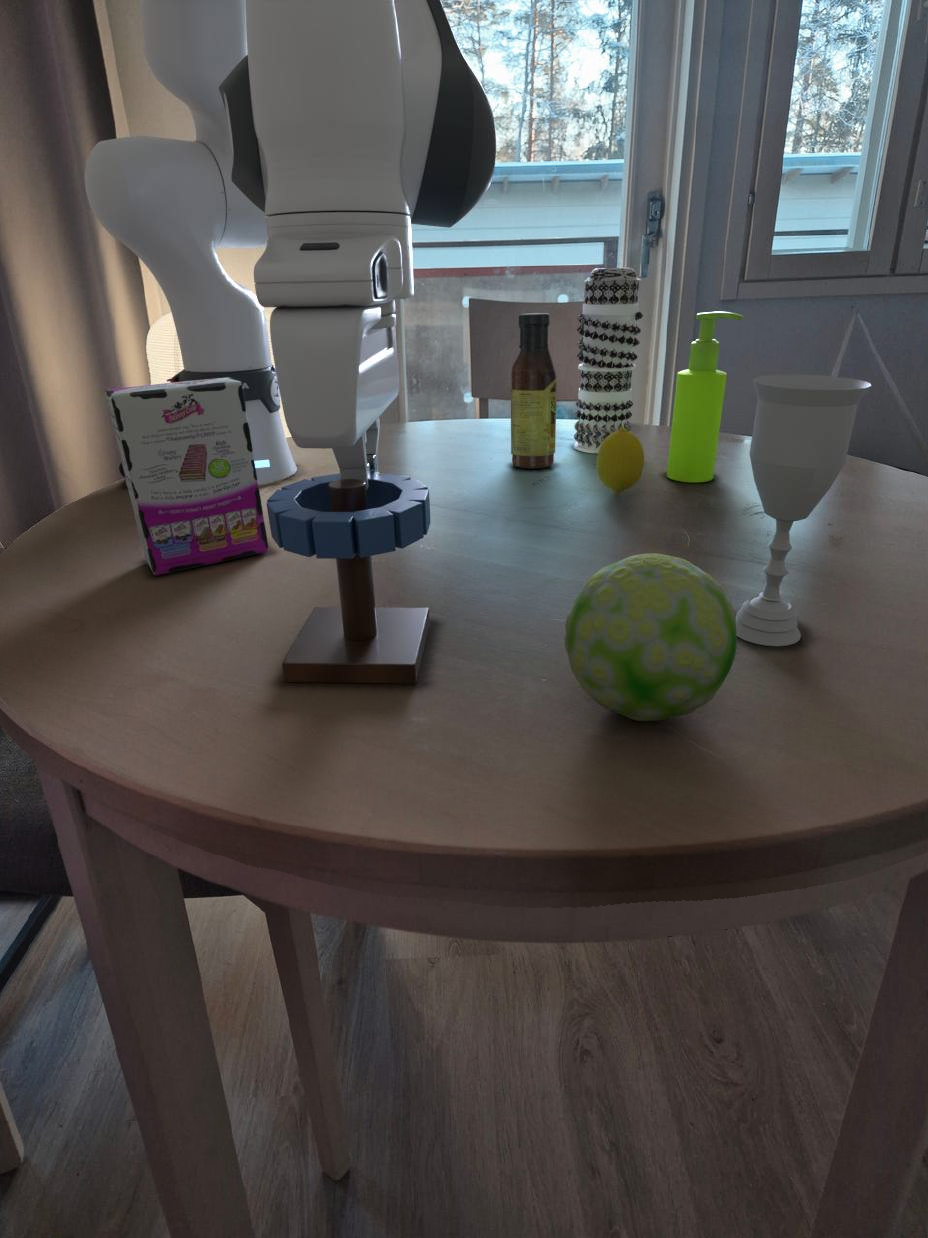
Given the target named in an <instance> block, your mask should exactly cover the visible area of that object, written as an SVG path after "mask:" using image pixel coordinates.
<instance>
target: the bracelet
mask: <svg viewBox="0 0 928 1238" xmlns="http://www.w3.org/2000/svg"><path fill="white" fill-rule="evenodd" d="M337 480H341V477H340V472H338V473H333V474H326V475H320V476H313V477H311V478H310V479H306V478H304V479H301V480H297V481H296V482H293V483H290V484H287V485H284V486H281V489H276V490H275V491H274V492H273V493H272V494H271V495H270V496H269V498H268V499H267V500H266V509H267V516H268V522H269V529H270V535H271V538H272V539H273V540H274V542H275V543H276V544H277V547H279V549H283V551H284V552H289V553H292V554H296V555H300V556H303V557H307V558H311V557H314V556H315V557H316V559H319V560H321V559H325V560H326V559H327V560H328V559H332V560H334V559H335V560H336V559H353V558H354V556H355V554H356V553H357V554H358V555H359V556H360V557H361V558H363V557H368V556H371V557H372V556H378V555H382V554H388V553H392V552H396V550H397V548H398V549H405V548H408V547H409V546H410V545H412V544H414V543H416V542H419V541H420V540H422V539H423V538H424V536H426V535H428V532H429V529H430V525H431V523H432V522H431V504H430V503H431V502H430V490H429V488H428V486H426V485H425V484H424V483H422V482H421V481H419V480H417V478H411V477H410V476H405V475H400V474H396V473H395V474H393V473H388V472H384V473H381V474H380V472H379V471H378V472H370V481H371V483H370V485H369V487H368V489H367V491H366V497H367V510H361V511H355V512H331V505H330V496H329V483H331V482H333V481H337Z"/></svg>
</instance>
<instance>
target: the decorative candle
mask: <svg viewBox="0 0 928 1238" xmlns="http://www.w3.org/2000/svg"><path fill="white" fill-rule="evenodd" d="M640 281H641V278H639V277H638V275H637V273H636V271H635V269H634V268H632V267H597V268H594V269H593V270H592V271H591V272H590V273H589V276H588V277H587V279H585V280H584V287H585V288H584V295H583V297H584V301H583V303H582V309H581V310H582V312H580V313H579V314H578V316H577V321H578V322H579V323H580V325H579V326H578V327H577V328H576V331H577V332H578V334H579V335H580V336H581V339H579V340H578V342H577V343H576V346H577V347H578V349H579V352H578V353H577V354H576V357H577V359H578V361H580V362H581V363H579V364H578V366H577V370H580V379H579V384H580V385H579V388H578V392H577V393H578V395H577V396H578V397H577V401H575V406H576V407H577V408H579V409H578V410H577V411H576V412H575V417H576V418H578V420H577V421H576V422H575V423H574V430H575V431H576V432H575V433H574V435H573V439H574V440H575V441H576V442H575V443H574V445H573V448H574V449H575V450H576V451H579V452H582V453H589V454H598V452H599V449H600V446H601V444H602V442H603V441H604V439H605V438H606V437H607V436H609V435H610V434H611V433H614V432H616V431H618V430H619V429H620V428H626V430H627V431H628V432H630V431H631V429H632V424H631V423H630V422H629V419H630V418H631V417H633V413H632V412H631V411H630V410H629V409H631V408H632V407H633V406H634V402H633V401H632V400H631V399H632V390H633V388H631V387H632V375H633V370H635V369H636V363H635V364H634V363H633V362H634V361H636V360H637V359H638V357H639V356H638V354H636V353H635V352H634V351H633V350H634V348H635V347H636V346H638V345H639V344H640V342H641V341H640V340H639V339H638V338H637V337H636V336H637V335H639V334H640V333H641V331H642V329H641V327H639V326H638V324H636V322H637V321H640V319H642V318H643V317H644V314H643V313H642V312H641V311H639V302H638V301H639V299H638V298H639V288H640V287H639V285H640ZM635 324H636V325H635Z"/></svg>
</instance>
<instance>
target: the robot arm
mask: <svg viewBox="0 0 928 1238" xmlns="http://www.w3.org/2000/svg"><path fill="white" fill-rule="evenodd" d="M140 2H141V3H140V5H141V19H142V20H141V21H142V38H143V53H144V57H145V60H146V62H147V64H148V66H149V68H150V70H151V72H152V74H153V76H154V77H155V78H156V80H157V81H158V82H159V84H161V85H162V86H163V88H165V89H166V90H167V91H168V92H170V93H171V94H172V95H173V96H174V97H176V98H177V99H178V100H179V101H180V102H182V103H183V104H184V105H186V106H187V107H188V109H189V111H190V114H191V116H192V119H193V123H194V128H195V140H185V139H176V138H167V137H158V136H148V135H134V136H126V137H125V136H124V137H117V138H111V139H105V140H101V141H98V142H97V143H96V144H95V145H94V147H93V148H92V149H91V152H90V154H89V155H88V158H87V160H86V164H85V169H84V189H85V194H86V197H87V200H88V203H89V206H90V208H91V210H92V212H93V214H94V216H95V218H96V219H97V221H98V222H99V223H100V225H101V226H102V227H103V228H104V230H105V231H106V232H107V233H108V234H109V235H110V236H112V237H113V238H114V239H115V240H117V241H118V242H120V243H121V244H122V245H124V246H125V247H126V248H128V249H129V250H130V251H131V252H132V253H134V254H135V256H136V257H137V258H138V259H139V260H140V261H141V262H143V264H144V265H145V267H147V269H148V270H149V272H150V273H151V274H152V275H153V277H154V279H155V280H156V282H157V283H158V285H159V287H160V289H161V291H162V292H163V294H164V296H165V298H166V301H167V304H168V306H169V310H170V312H171V315H172V320H173V323H174V328H175V332H176V336H177V340H178V344H179V350H180V354H181V360H182V365H183V369H182V370H181V371H179V372H178V373H176V374H174V375H173V376H172V377H170V378H168V379H166V382H169V383H173V382H183V381H193V380H205V379H216V378H227V377H231V378H232V379H235V380H237V381H240V382H242V388H243V393H244V399H245V405H246V413H247V418H248V424H249V429H250V436H251V442H252V449H253V455H254V462H255V468H256V474H257V479H258V485H259V486H260V485H264V484H269V483H273V482H277V481H281V480H284V479H286V478H289V477H292V476H293V475H294V474H296V473H297V471H298V467H297V464H296V462H295V460H294V458H293V455H292V453H291V450H290V446H289V444H288V440H287V436H286V434H285V430H284V429H285V428H284V425H283V421H282V417H281V413H280V408H282V412H283V417H284V420H285V424H286V427H287V429H288V432H289V434H290V436H291V438H292V440H293V442H294V443H295V445H296V447H298V448H300V449H321V450H323V449H332V452H333V455H334V458H335V460H336V463H337V466H338V469H339V473H340V477H341V480H342V479H358V480H362V481H364V482H365V485H366V491H367V489H368V487H369V485H370V483H371V481H370V472H379V459H378V458H379V457H378V450H379V439H380V429H381V424H380V416H382V414H383V413H384V412H385V410H387V408H388V407H389V406H390V405H391V404H392V403H393V402H394V401H395V399H396V398H397V397H398V396H399V393H400V367H399V365H400V364H399V355H398V343H397V342H398V341H397V331H396V326H397V315H396V314H395V313H396V311H397V310H396V300H407V299H412V298H414V296H415V286H414V263H413V261H414V259H413V240H412V237H413V236H412V225H416V226H417V225H418V226H427V227H429V226H430V227H438V228H446V229H447V228H452V227H454V225H456V224H457V223H459V222H460V221H461V220H462V219H463V218H464V217H466V216H467V215H468V214H469V213H470V212H471V211H472V210H473V208H475V207H476V205H477V204H478V203H479V202H480V200H482V198H483V197H484V196H485V194H486V192H487V191H488V189H489V188H490V186H491V184H492V180H493V177H494V173H495V168H496V159H497V135H496V134H497V133H496V125H495V118H494V113H493V109H492V105H491V103H490V101H489V97H488V95H487V94H486V91H485V89H484V86H483V85H482V83H481V81H480V80H479V78H478V76H477V75H476V73H475V71H474V70H473V68H472V67H471V65H470V63H469V62H468V60H467V59H466V57H465V56H464V54H463V52H462V50H461V48H460V46H459V43H458V41H457V39H456V36H455V34H454V31H453V29H452V26H451V24H450V22H449V19H448V16H447V14H446V11H445V8H444V5H443V3H442V1H441V0H140ZM261 248H265V250H264V251H263V253H262V254H261V256H260V257H259V259H258V260H257V261H256V263H255V264H254V266H253V283H254V289H255V293H254V292H253V291H252V290H251V289H250V288H248V287H246V286H245V285H243V284H241V283H239V282H237V281H236V280H233V279H232V278H231V277H230V276H229V275H228V274H227V272H226V271H225V269H224V268H223V266H222V264H221V262H220V260H219V256H218V254H217V251H216V250H217V249H261ZM265 308H269V309H270V308H274V309H273V310H272V311H271V313H270V317H269V331H268V325H267V317H266V310H265ZM269 335H270V341H269ZM270 343H271V348H270ZM271 349H272V350H271ZM271 351H272V356H273V361H272V356H271ZM272 362H273V363H274V364H273V363H272ZM281 406H282V407H281ZM118 471H119V473H120V475H121V476H122V477H123V478H124V479H126V478H125V473H124V469H123V465H122V461H121V462H120V463H119V466H118ZM125 485H126V487H127V488H128V486H127V482H126V481H125Z"/></svg>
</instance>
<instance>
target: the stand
mask: <svg viewBox="0 0 928 1238" xmlns="http://www.w3.org/2000/svg"><path fill="white" fill-rule="evenodd" d="M329 496H330V505H331V512H355V511H361V510H367V497H366V485H365V482H364V481H362V480H358V479H342V480H337V481H333V482H331V483H329ZM335 562H336V572H337V582H338V591H339V593H338V594H339V601H340V606H314V608H313V609H312V610H311V613H310V614H309V616H308V617H307V619H306V621H305V623H304V625H303V626H302V628H301V630H300V632H299V633H298V635H297V636H296V638H295V640H294V641H293V644H292V645H291V647H290V649H289V650H288V652H287V654H286V655H285V658H284V659H283V660H282V662H281V665H282V671H283V672H282V673H283V680H284V682H285V683H330V684H331V683H333V684H337V683H339V684H405V685H406V684H409V685H410V684H412V685H413V684H417V683H418V682H417V681H418V677H419V672H420V667H421V665H422V660H423V655H424V651H425V646H426V642H427V637H428V632H429V630H430V629H429V628H430V608H429V607H385V606H384V607H383V606H382V607H379V606H377V607H376V599H375V598H376V597H375V587H374V586H375V584H374V574H373V572H374V571H373V561H372V556H368V557H363V558H361V557H360V556H359V555H358V554H357V553H356V554H355V556H354V558H353V559H335Z"/></svg>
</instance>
